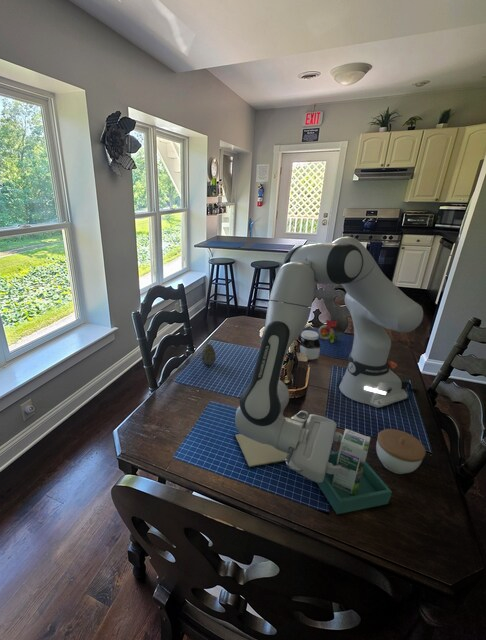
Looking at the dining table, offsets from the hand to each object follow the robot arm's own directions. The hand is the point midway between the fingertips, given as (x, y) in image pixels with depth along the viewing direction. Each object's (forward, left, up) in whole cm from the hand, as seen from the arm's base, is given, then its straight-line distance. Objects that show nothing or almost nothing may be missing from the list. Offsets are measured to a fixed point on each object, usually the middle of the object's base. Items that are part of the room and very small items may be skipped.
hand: (350, 458), depth 79 cm
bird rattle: (-42, -74, -9) cm, 86 cm away
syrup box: (0, 0, -9) cm, 9 cm away
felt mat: (+14, -16, -9) cm, 23 cm away
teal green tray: (0, 0, -9) cm, 9 cm away
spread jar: (-22, -62, -9) cm, 66 cm away
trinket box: (-17, -3, -9) cm, 20 cm away
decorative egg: (+20, -64, -9) cm, 68 cm away
